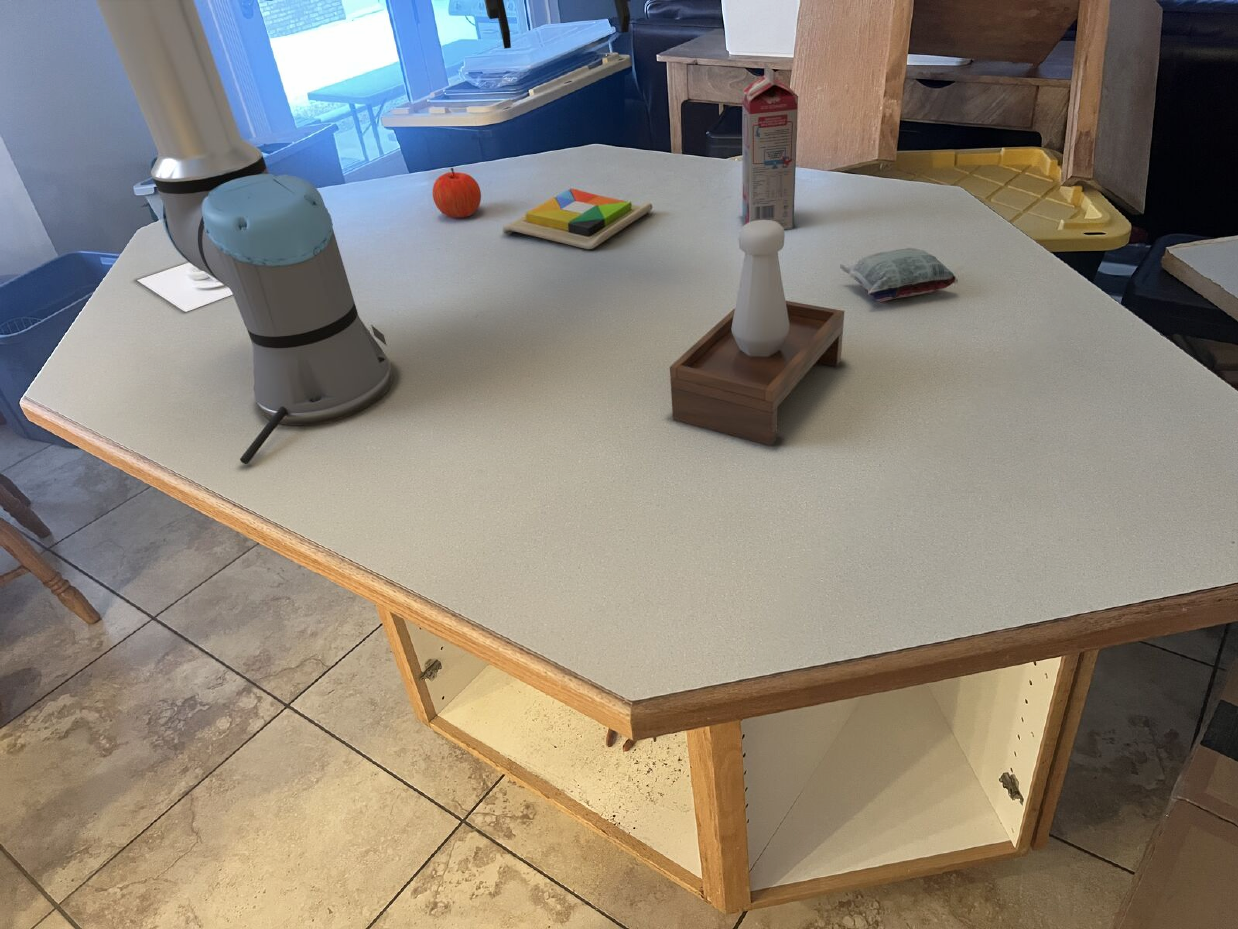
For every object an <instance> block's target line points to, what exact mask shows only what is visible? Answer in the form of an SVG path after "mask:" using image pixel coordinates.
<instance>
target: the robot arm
mask: <svg viewBox="0 0 1238 929" xmlns="http://www.w3.org/2000/svg"><path fill="white" fill-rule="evenodd" d="M483 1H484V5H485V9H486V15H487V17H488V18H489V20H495V19H497V20H498V24H499V29H500V34H501V39H502V44H503V48H504V49H505V50H506V49H511V48H512V45H511V44H512V43H511V30H510V26H509V21H508V16H507V12H506V7H505V2H504V0H483ZM631 1H632V0H613V2H614V5H615V10H616V14H617V15H616V16H617V19H618V23H619V27H620V30H621V31H620V32H621V34H624V33H625V34H626V33H629V28H630V23H631V22H630V21H631V12H630V8H629V4H628V3H629V2H631ZM95 2H96V4H97V6H98V8H99V11H100V14H101V16H102V18H103V20H104V23H105V26H106V28H107V30H108V33H109V36H110V38H111V39H112V43H113V45H114V48H115V50H116V52H117V55H118V57H119V60H120V63H121V64H122V67H123V69H124V72H125V75H126V76H127V79H128V82H129V84H130V86H131V89H132V91H133V94H134V96H135V100H136V101H137V104H138V107H139V109H140V111H141V114H142V116H143V118H144V121H145V123H146V126H147V128H148V131H149V133H150V136H151V138H152V140H153V143H154V146H155V147H156V150H157V152H158V155H157V159H156V161H154V162H155V163H154V164H153V167H152V168H151V170H150V175H151V178H152V180H153V182H154V185H155V187H156V190H157V192H158V194H159V197H160V199H161V210H160V211H161V213H160V214H161V220H162V225H163V228H164V231H165V234H166V236H167V237H168V239H169V241H170V243H171V245H172V246H173V247H174V249H175V250H176V252H177V253H178V254H179V255H180V256H181V257H182V258H184V259H185V260H186V262H187V263H191V264H192V265H193V266H195V267H196V268H198V269H199V270H201V271H204V272H206V273H207V274H209V275H210V276H212V277H214V278H215V279H217V280H218V281H220V282H221V283H222V284H224V285H226V286H227V287H228V288H230V290H231V292H232V294H233V295H232V297H233V298H234V301H235V303H236V306H237V308H238V311H239V314H240V316H241V319H242V322H243V324H244V326H245V329H246V331H247V333H248V336H249V339H250V341H251V344H252V364H253V365H252V366H253V368H252V369H253V392H254V398H255V401H256V403H257V406H258V408H259V411H260V413H261V414H262V415H263V417H265V418H266V419H268V420H269V421H268V422H267V423H266V425H265V426H264V427H263V429H262V430H261V431H260V433H259V434H257V436H256V437H255V439H254V440H253V441H252V442H251V443H250V445H249V446H248V448H246V450H245V452H244V453H243V454H242V455H241V457H240V458H239V461H240V463H242V464H243V465H248V464H249V463H250V462H251V461H252V459H253V458H254V457H255V455H256V454H257V452H258V451H259V450H260V448H262V446H263V444H264V443H265V442H266V441H267V440H268V438H269V436H270V435H271V434H272V433H273V432H274V430H275V429H276V428H277V426H278V425H279V424H282V425H288V426H308V425H309V426H310V425H318V424H324V423H328V422H332V421H336V420H340V419H342V418H346V417H348V416H351V415H353V414H355V413H356V414H357V413H358V412H360V411H362V410H363V409H365V408H367V407H369V406H371V405H373V404H374V403H376V401H378V400H380V398H381V397H383V396H384V395H385V394H386V392H387V391H388V390H389V389H390V387H391V386H392V382H393V379H394V376H393V375H394V374H393V370H392V367H391V363H390V360H389V358H388V356H387V355H386V353H385V351H384V350H383V349H382V347H381V345H379V343H378V341H377V340H379V341H380V342H381V343H382V344H383V345H385V346H386V347H388V345H387V342H386V338H385V335H384V334H383V333H382V332H381V331H379V329H377V328H376V327H375V326H374V325H372V324H370V326H371V329H372V332H373V335H372V333H371V332H370V330H369V329H368V328H367V326H366V325H365V323H364V322H363V321H362V319H361V318H360V316H359V313H358V309H357V306H356V302H355V300H354V296H353V292H352V289H351V285H350V281H349V278H348V275H347V271H346V268H345V265H344V261H343V258H342V255H341V251H340V248H339V244H338V242H337V241H338V240H337V238H336V234H335V231H334V224H333V218H332V216H331V214H330V212H329V210H328V208H327V207H326V205H325V202H324V199H323V197H322V194H321V193H320V192H319V190H318V189H317V188H316V186H314V185H313V184H312V183H310V182H309V181H307V180H306V179H303V178H301V177H298V176H294V175H289V174H280V175H276V174H274V173H269V170H268V167H267V165H266V161H265V158H264V155H263V153H262V149H260V148H258V147H256V146H255V145H253V144H251V143H250V142H249V141H247V140H245V139H244V138H243V137H242V135H241V132H240V129H239V126H238V123H237V120H236V117H235V115H234V111H233V109H232V106H231V103H230V101H229V97H228V95H227V92H226V89H225V85H224V82H223V81H222V77H221V74H220V72H219V69H218V66H217V62H216V60H215V58H214V54H213V52H212V49H211V46H210V42H209V40H208V37H207V34H206V32H205V29H204V26H203V23H202V20H201V17H200V14H199V11H198V9H197V6H196V2H195V0H95ZM375 338H376V339H377V340H376V339H375Z"/></svg>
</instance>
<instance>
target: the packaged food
mask: <svg viewBox="0 0 1238 929" xmlns="http://www.w3.org/2000/svg"><path fill="white" fill-rule="evenodd" d="M839 268H840V269H841V271H842V272H844V273H846V274H848V275H849V276H850V278H852V279H853V280H854V281H856V282H857V283H858V284H859V285H860V286H862V287H863V288H864V289H865V290H867V292H868V293H867V294H866V296H868V295H869V297H870V298H873V299H874V300H875V301H877V302H886V301H890V300H895V299H899V298H908V297H914V296H918V295H924V294H929V293H933V292H937V291H940V290H942V289H946V288H948V287H950V286H952V285H953V284H957V283H958V282H959V281H958V279H956V278H957V276H955V274H954V273H953V272H952V271H951V270H950V269H949V268H948V267H947V266H945V264H943V262H941V261H940V260H939V259H938V258H937V257H936V256H934V255H933V254H931V253H929V252H927V251H926V250H923V249H918V248H915V247H914V248H912V247H907V248H901V249H894V250H890V251H889V250H888V251H883V252H878V253H873V254H870V255H867V256H864V257H862V258H861V259H856V260H854V262H851V263H849V264H846V265H844V264H841V263H839Z"/></svg>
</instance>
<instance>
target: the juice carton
mask: <svg viewBox="0 0 1238 929" xmlns="http://www.w3.org/2000/svg"><path fill="white" fill-rule="evenodd" d="M763 65H764V70H763V71H764V75H763V76H761V77H760V78H758V79H756V80H755V81H753V82H751V84H749V85H747V86H746V87H745V88H744V89H743V90H742V91H741V93H742V102H741V104H742V108H741V109H742V112H741V114H742V115H741V116H742V118H741V119H742V124H741V125H742V126H741V127H742V139H741V140H742V142H741V143H742V145H741V146H742V148H741V150H742V156H741V158H742V162H741V163H742V164H741V165H742V169H741V171H742V172H741V174H742V181H741V182H742V183H741V184H742V189H741V190H742V195H741V196H742V198H741V199H742V206H741V208H742V210H741V211H742V212H741V214H742V216H741V217H742V220H743V222H744V225H745V224H747V223H748V222H752V221H756V220H771V221H775V222H778V223H779V224H780V225H781V226H782V227H783V228H784V230H792V229H794V222H795V197H796V196H795V193H796V192H795V191H796V170H797V169H796V166H797V142H798V141H797V140H798V138H797V136H798V111H799V109H798V108H799V96H798V94H796V93H795V91H794V90H793V89H792V88H791V87H790V85H787V84H786V83H785V82H783V81H781V80H778V79H776V74H775V71H774V70H773V69H772V68H771V67H770V66H769V64H768V63H766V62H764V64H763Z"/></svg>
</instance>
